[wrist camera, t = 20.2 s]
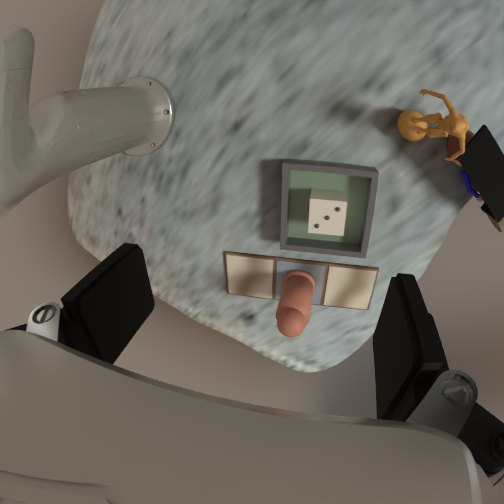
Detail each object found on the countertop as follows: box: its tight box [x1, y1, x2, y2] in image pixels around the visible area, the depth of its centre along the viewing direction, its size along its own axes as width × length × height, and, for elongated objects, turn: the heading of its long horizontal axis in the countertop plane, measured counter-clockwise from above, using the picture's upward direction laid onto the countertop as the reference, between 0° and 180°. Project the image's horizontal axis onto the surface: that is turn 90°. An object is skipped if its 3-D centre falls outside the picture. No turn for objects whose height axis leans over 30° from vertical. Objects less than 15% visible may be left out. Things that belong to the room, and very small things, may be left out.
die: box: [308, 188, 347, 236], centre depth 36 cm, size 5×5×5 cm
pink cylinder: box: [276, 270, 316, 337], centre depth 41 cm, size 5×5×11 cm
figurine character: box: [447, 125, 504, 232], centre depth 28 cm, size 7×8×15 cm
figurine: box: [397, 89, 469, 161], centre depth 25 cm, size 8×6×12 cm
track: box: [225, 251, 379, 310], centre depth 45 cm, size 24×8×1 cm, turn 91°
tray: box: [280, 159, 379, 258], centre depth 38 cm, size 12×12×3 cm
